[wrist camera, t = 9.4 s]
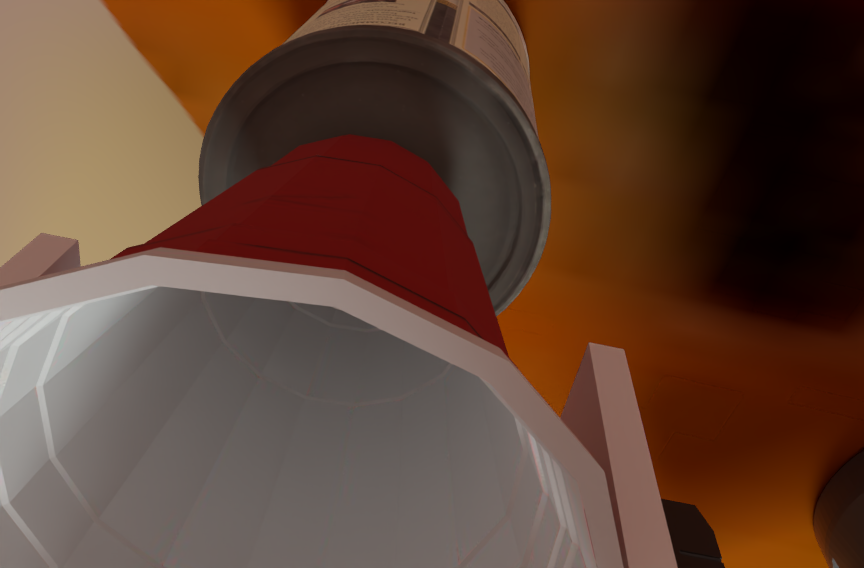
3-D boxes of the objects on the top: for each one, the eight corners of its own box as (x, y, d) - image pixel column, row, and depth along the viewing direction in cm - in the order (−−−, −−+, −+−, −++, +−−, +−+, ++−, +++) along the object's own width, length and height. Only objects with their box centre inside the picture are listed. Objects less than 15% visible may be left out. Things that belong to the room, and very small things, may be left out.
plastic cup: (620, 313, 21) (734, 760, 11) (305, 419, 24) (161, 842, 14) (462, -58, 16) (396, 108, 6) (97, 135, 19) (-356, 458, 9)
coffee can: (402, 220, 37) (355, 402, 25) (261, 55, 33) (124, 175, 21) (576, 102, 33) (620, 250, 21) (439, -101, 29) (397, -62, 17)
